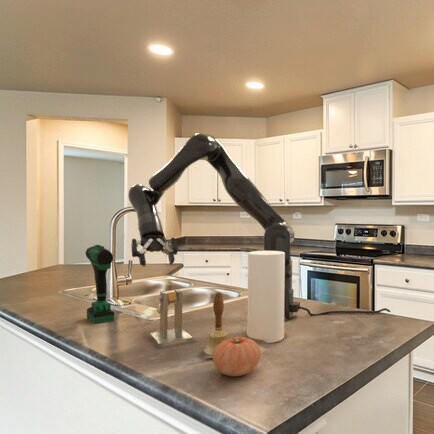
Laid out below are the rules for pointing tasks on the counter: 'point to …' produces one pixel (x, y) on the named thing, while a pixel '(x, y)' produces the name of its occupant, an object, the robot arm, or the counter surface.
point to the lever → (169, 300)
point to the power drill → (100, 284)
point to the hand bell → (216, 326)
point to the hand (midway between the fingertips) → (158, 264)
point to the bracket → (165, 334)
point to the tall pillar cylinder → (266, 295)
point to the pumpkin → (236, 356)
